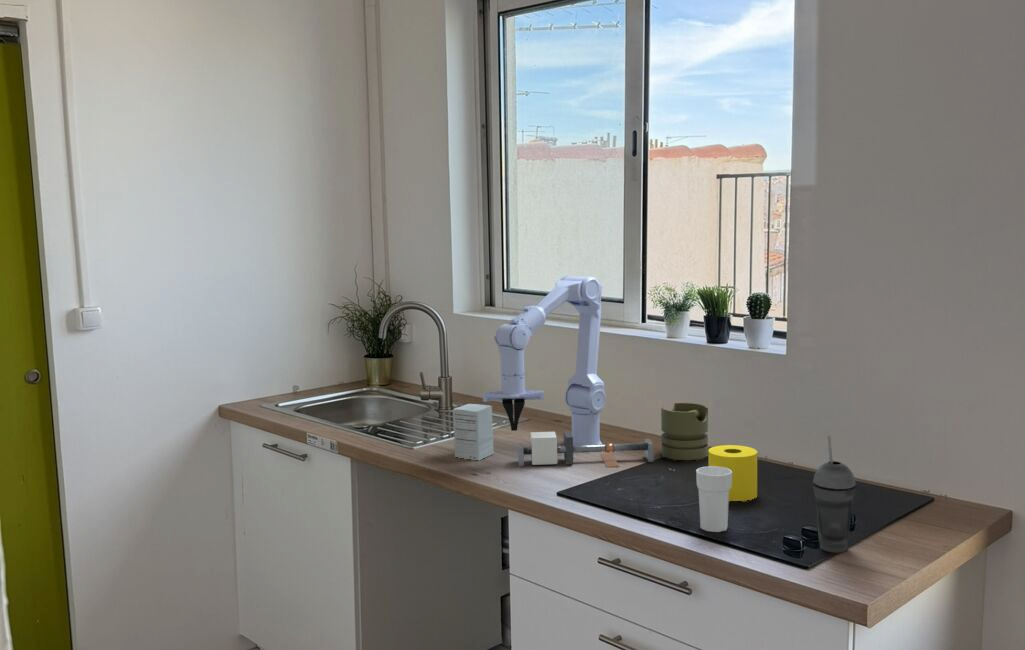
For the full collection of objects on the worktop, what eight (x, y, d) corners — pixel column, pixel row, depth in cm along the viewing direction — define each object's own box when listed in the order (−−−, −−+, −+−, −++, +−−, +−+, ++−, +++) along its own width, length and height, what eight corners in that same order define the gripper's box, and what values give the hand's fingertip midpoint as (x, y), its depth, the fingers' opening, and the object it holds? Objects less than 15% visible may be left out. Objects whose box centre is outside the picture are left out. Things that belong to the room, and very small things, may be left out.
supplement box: (470, 451, 239) (468, 402, 238) (494, 454, 235) (493, 405, 234) (453, 458, 233) (451, 408, 231) (478, 461, 229) (476, 411, 228)
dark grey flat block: (566, 464, 222) (566, 437, 222) (564, 456, 229) (563, 430, 228) (573, 463, 222) (572, 437, 222) (570, 456, 229) (570, 430, 228)
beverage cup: (838, 558, 160) (840, 444, 157) (803, 547, 165) (804, 437, 163) (863, 548, 164) (865, 437, 161) (828, 537, 170) (829, 430, 167)
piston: (717, 406, 228) (690, 414, 220) (717, 454, 230) (691, 463, 222) (678, 400, 236) (651, 408, 228) (678, 447, 238) (652, 455, 230)
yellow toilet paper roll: (707, 487, 203) (707, 444, 202) (755, 488, 201) (755, 445, 200) (709, 501, 193) (709, 456, 192) (759, 502, 191) (759, 457, 190)
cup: (692, 522, 180) (692, 467, 179) (725, 520, 180) (726, 465, 179) (701, 534, 173) (701, 476, 172) (736, 532, 174) (736, 475, 173)
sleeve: (532, 464, 223) (531, 438, 222) (531, 458, 228) (530, 432, 228) (557, 463, 223) (556, 437, 222) (555, 457, 229) (554, 431, 228)
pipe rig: (519, 470, 220) (518, 451, 219) (517, 458, 231) (517, 440, 230) (655, 465, 221) (655, 446, 220) (647, 453, 232) (647, 435, 231)
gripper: (482, 377, 219) (484, 434, 220) (544, 376, 219) (545, 432, 221) (482, 372, 226) (484, 427, 227) (542, 371, 226) (543, 425, 228)
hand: (514, 429), depth 224 cm, fingers closed
